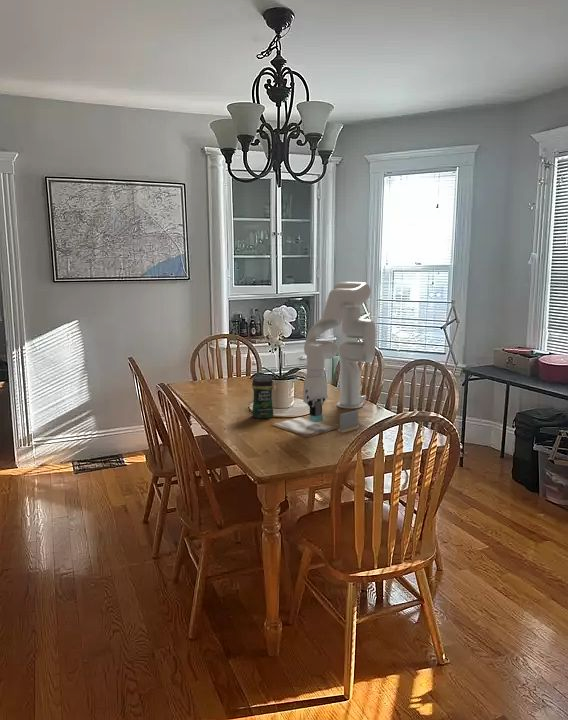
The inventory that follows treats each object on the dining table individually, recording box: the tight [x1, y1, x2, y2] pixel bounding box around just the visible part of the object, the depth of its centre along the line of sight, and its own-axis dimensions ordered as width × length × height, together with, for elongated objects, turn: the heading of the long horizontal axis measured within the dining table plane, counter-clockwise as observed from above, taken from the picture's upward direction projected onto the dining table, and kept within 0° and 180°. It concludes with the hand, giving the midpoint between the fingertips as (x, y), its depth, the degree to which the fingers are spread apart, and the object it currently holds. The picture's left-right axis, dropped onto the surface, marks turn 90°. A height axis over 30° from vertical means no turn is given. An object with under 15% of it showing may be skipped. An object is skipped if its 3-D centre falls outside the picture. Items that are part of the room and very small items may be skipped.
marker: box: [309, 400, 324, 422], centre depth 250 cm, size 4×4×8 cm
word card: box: [337, 409, 361, 434], centre depth 245 cm, size 10×3×8 cm, turn 129°
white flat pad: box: [271, 416, 338, 439], centre depth 250 cm, size 17×23×2 cm
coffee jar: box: [251, 376, 274, 419], centre depth 265 cm, size 10×8×19 cm
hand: (315, 414), depth 250 cm, fingers closed on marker, 3 cm apart
